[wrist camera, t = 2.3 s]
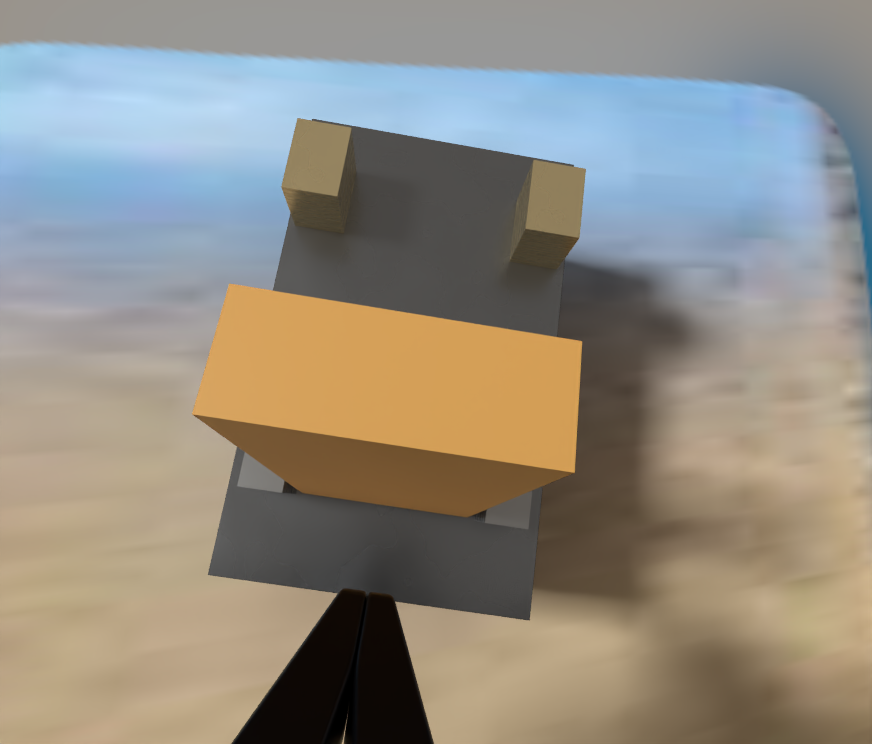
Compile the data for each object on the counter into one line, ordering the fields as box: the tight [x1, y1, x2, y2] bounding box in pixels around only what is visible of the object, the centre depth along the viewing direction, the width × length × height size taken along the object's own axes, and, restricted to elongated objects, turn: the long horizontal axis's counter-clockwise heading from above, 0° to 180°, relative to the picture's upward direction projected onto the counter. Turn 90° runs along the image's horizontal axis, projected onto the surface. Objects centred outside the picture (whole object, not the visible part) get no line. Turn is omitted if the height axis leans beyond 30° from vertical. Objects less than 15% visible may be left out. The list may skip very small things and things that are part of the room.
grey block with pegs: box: [208, 118, 586, 620], centre depth 17 cm, size 13×8×8 cm, turn 172°
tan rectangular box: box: [192, 284, 582, 517], centre depth 10 cm, size 9×4×2 cm
